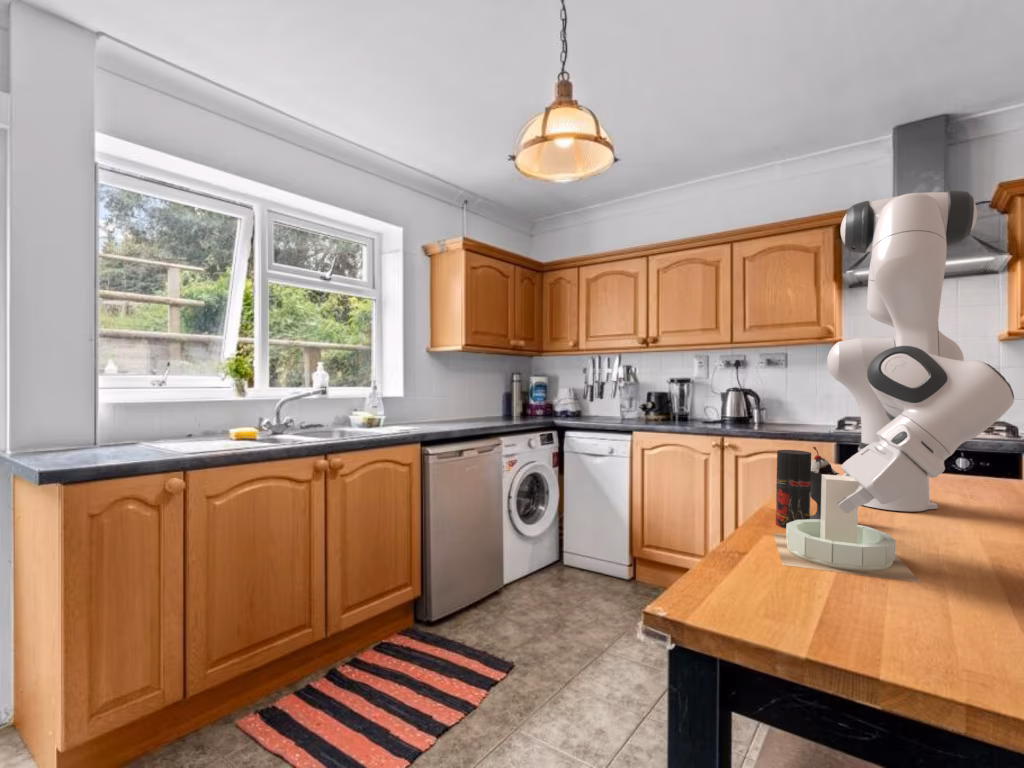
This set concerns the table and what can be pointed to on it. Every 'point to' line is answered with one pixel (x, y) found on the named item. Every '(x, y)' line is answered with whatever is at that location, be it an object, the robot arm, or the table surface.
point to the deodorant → (793, 486)
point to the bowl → (841, 547)
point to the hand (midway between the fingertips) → (835, 502)
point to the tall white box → (837, 509)
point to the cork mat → (895, 572)
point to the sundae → (818, 481)
